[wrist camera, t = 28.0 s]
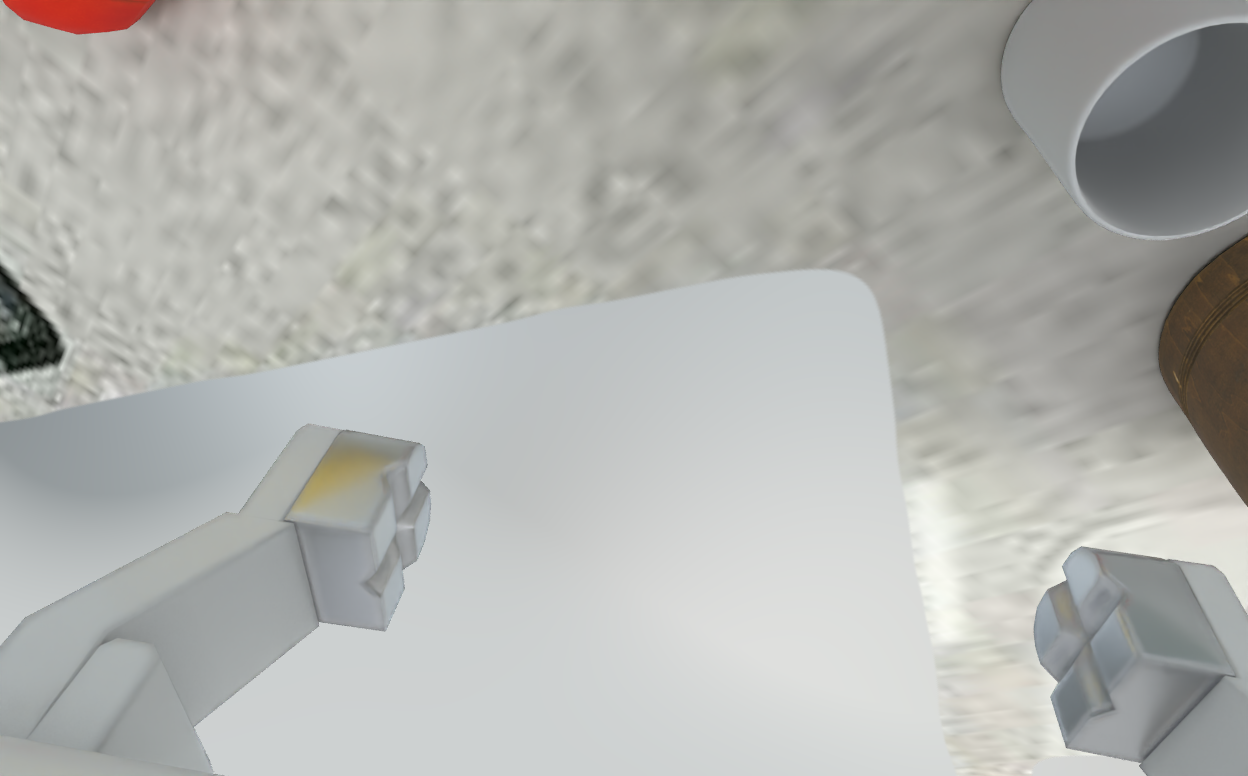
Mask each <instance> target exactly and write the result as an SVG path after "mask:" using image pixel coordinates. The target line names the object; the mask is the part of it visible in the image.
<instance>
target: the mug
mask: <svg viewBox="0 0 1248 776" xmlns="http://www.w3.org/2000/svg"><path fill="white" fill-rule="evenodd" d="M1001 84H1002V91H1003V95H1004V99H1005V101H1006V104H1007V106H1008V109H1009V111H1010V112H1011V114H1012V116H1013V117H1014V119H1015V120H1016V122H1017V123H1018V124H1019V126H1020V127H1021V128H1022V129H1023V130H1024V132H1025V133H1026V134H1027V135H1028V137H1029V138H1030V139H1031V141H1032V142H1033V144H1034V145H1035V146H1036V148H1037V149H1038V151H1039V152H1040V154H1041V155H1042V156H1043V158H1044V159H1045V161H1046V162H1047V163H1048V165H1049V166H1050V168H1051V169H1052V171H1053V172H1054V173H1055V175H1056V176H1057V178H1058V179H1059V180H1060V182H1061V183H1062V185H1063V186H1064V188H1065V189H1066V190H1067V192H1068V193H1069V195H1070V196H1071V197H1072V199H1073V200H1074V202H1075V203H1076V204H1077V205H1078V206H1079V208H1080V209H1081V210H1082V211H1083V212H1084V213H1085V214H1086V215H1087V216H1088V217H1089V218H1090V219H1092V220H1093V221H1094V222H1095V223H1097V224H1098V225H1100V226H1102V227H1103V228H1105V229H1107V230H1109V231H1112V232H1114V233H1117V234H1119V235H1122V236H1126V237H1131V238H1135V239H1143V240H1170V239H1179V238H1184V237H1189V236H1194V235H1198V234H1201V233H1204V232H1208V231H1211V230H1214V229H1216V228H1219V227H1221V226H1223V225H1226V224H1228V223H1230V222H1232V221H1234V220H1236V219H1238V218H1240V217H1242V216H1244V215H1245V214H1247V213H1248V1H1247V0H1032V1H1031V3H1030V4H1029V5H1028V6H1027V8H1026V9H1025V10H1024V12H1023V13H1022V14H1021V16H1020V17H1019V19H1018V21H1017V22H1016V24H1015V26H1014V28H1013V30H1012V32H1011V34H1010V36H1009V38H1008V41H1007V44H1006V47H1005V50H1004V55H1003V60H1002V68H1001Z"/></svg>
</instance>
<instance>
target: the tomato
mask: <svg viewBox="0 0 1248 776" xmlns="http://www.w3.org/2000/svg"><path fill="white" fill-rule="evenodd" d="M3 2H4V3H5V5H6V6H8V7H9V8H10V9H11V10H12V11H14V12H15V13H16V14H17V15H18V16H20V17H21V18H22V19H23V20H26V21H30V22H33V23H37V24H40V25H44V26H48V27H51V28H55V29H58V30H62V31H66V32H70V33H74V34H88V33H100V32H110V31H117V30H124V29H127V28H129V27H130V26H131V25H133V24H134V23H135V22H137V21H138V20H139V19H140V18H141V17H142V16H143V15H144V13H145V12H146V11H147V10H148V9H149V7H150V6H151V5H152V4H153V3H154V2H155V0H3Z"/></svg>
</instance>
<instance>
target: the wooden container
mask: <svg viewBox="0 0 1248 776" xmlns="http://www.w3.org/2000/svg"><path fill="white" fill-rule="evenodd" d="M1159 365H1160V370H1161V373H1162V376H1163V379H1164V381H1165V383H1166V385H1167V387H1168V389H1169V391H1170V393H1171V394H1172V396H1173V397H1174V399H1175V400H1176V402H1177V403H1178V405H1179V406H1180V408H1181V409H1182V411H1183V412H1184V414H1185V415H1186V417H1187V418H1188V420H1189V421H1190V423H1191V424H1192V426H1193V428H1194V429H1195V431H1196V433H1197V434H1198V436H1199V438H1200V439H1201V441H1202V442H1203V444H1204V445H1205V447H1206V448H1207V450H1208V451H1209V453H1210V455H1211V456H1212V457H1213V459H1214V460H1215V462H1216V463H1217V465H1218V466H1219V468H1220V469H1221V471H1222V472H1223V473H1224V475H1225V476H1226V478H1227V479H1228V480H1229V482H1230V483H1231V485H1232V486H1233V488H1234V489H1235V490H1236V492H1237V493H1238V495H1239V496H1240V497H1241V499H1242V500H1243V501H1244V503H1245V504H1246V505H1247V507H1248V236H1247V237H1246V238H1244V239H1243V240H1241V241H1240V242H1238V243H1236V244H1235V245H1234V246H1232V247H1231V248H1229V249H1228V250H1227V251H1225V252H1224V253H1222V254H1221V255H1219V256H1218V257H1217V258H1216V259H1215V260H1214V261H1213V262H1211V263H1210V264H1209V265H1208V266H1206V267H1205V268H1204V269H1203V270H1202V271H1201V272H1200V273H1199V274H1198V275H1197V276H1196V277H1195V278H1194V279H1193V280H1192V281H1191V282H1190V284H1189V285H1188V286H1187V287H1186V288H1185V290H1184V291H1183V293H1182V294H1181V296H1180V297H1179V298H1178V300H1177V301H1176V303H1175V305H1174V306H1173V308H1172V309H1171V312H1170V314H1169V316H1168V318H1167V320H1166V322H1165V325H1164V329H1163V332H1162V335H1161V341H1160V346H1159Z"/></svg>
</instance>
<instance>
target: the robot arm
mask: <svg viewBox="0 0 1248 776" xmlns="http://www.w3.org/2000/svg"><path fill="white" fill-rule="evenodd" d="M426 468H427V459H426V452H425V447H424V446H423V445H422V444H420V443H416V442H411V441H405V440H399V439H394V438H388V437H383V436H378V435H372V434H366V433H361V432H356V431H350V430H340V429H335V428H329V427H324V426H319V425H313V424H307V425H305V426H303V427H302V428H300V429H299V430H297V431H296V433H295V434H294V436H293V437H292V439H291V440H290V441H289V443H288V444H287V445H286V447H285V448H284V450H283V451H282V453H281V454H280V455H279V457H278V458H277V460H276V461H275V462H274V464H273V465H272V467H271V468H270V470H269V471H268V472H267V474H266V475H265V477H264V478H263V479H262V481H261V482H260V484H259V485H258V486H257V488H256V489H255V491H254V492H253V494H252V495H251V496H250V498H249V499H248V501H247V502H246V504H245V505H244V506H243V508H242V509H241V510H240V512H239V513H238V514H235V513H229V512H226V513H224V514H222V515H220V516H218V517H217V518H215V519H213V520H211V521H209V522H207V523H205V524H203V525H201V526H199V527H197V528H195V529H194V530H192V531H190V532H188V533H186V534H184V535H182V536H180V537H178V538H176V539H174V540H172V541H171V542H169V543H167V544H165V545H163V546H161V547H159V548H157V549H155V550H154V551H151V552H150V553H148V554H146V555H144V556H142V557H140V558H138V559H136V560H134V561H132V562H130V563H129V564H127V565H125V566H123V567H121V568H119V569H117V570H115V571H113V572H111V573H109V574H107V575H106V576H104V577H102V578H100V579H98V580H96V581H94V582H92V583H90V584H88V585H86V586H85V587H83V588H81V589H79V590H77V591H75V592H73V593H71V594H69V595H67V596H65V597H64V598H62V599H60V600H58V601H56V602H54V603H52V604H50V605H48V606H46V607H44V608H42V609H41V610H39V611H37V612H35V613H33V614H31V615H29V616H27V617H25V618H24V619H23V621H22V622H21V623H20V624H19V625H18V626H17V627H16V629H15V630H14V631H13V632H12V633H11V635H9V637H8V638H7V639H6V640H5V641H4V642H3V643H2V645H1V646H0V776H223V775H217V774H213V769H212V766H211V763H210V760H209V758H208V756H207V754H206V752H205V750H204V747H203V745H202V743H201V741H200V739H199V737H198V735H197V733H196V731H195V729H194V726H196V725H197V724H198V723H199V722H201V721H202V720H203V719H204V718H206V717H207V716H208V715H209V714H210V713H212V712H213V711H214V710H215V709H217V708H218V707H219V706H220V705H222V704H223V703H224V702H225V701H227V700H228V699H229V698H230V697H232V696H233V695H234V694H235V693H236V692H238V691H239V690H240V689H241V688H243V687H244V686H245V685H246V684H248V683H249V682H250V681H251V680H253V679H254V678H255V677H256V676H258V675H259V674H260V673H261V672H263V671H264V670H265V669H266V668H268V667H269V666H270V665H271V664H273V663H274V662H275V661H276V660H277V659H279V658H280V657H281V656H282V655H284V654H285V653H286V652H287V651H289V650H290V649H291V648H292V647H294V646H295V645H296V644H297V643H299V642H300V641H301V640H302V639H304V638H305V637H306V636H307V635H308V634H310V633H311V632H312V631H314V630H315V629H316V628H317V627H318V626H319V622H323V623H330V624H337V625H344V626H351V627H358V628H365V629H372V630H379V631H386V630H387V627H388V625H389V623H390V621H391V618H392V616H393V614H394V612H395V609H396V607H397V605H398V602H399V600H400V598H401V596H402V593H403V591H404V589H405V587H404V578H403V569H405V568H406V567H408V566H409V565H411V564H413V563H414V562H416V561H417V559H418V557H419V554H420V552H421V549H422V547H423V545H424V542H425V538H426V534H427V530H428V526H429V522H430V510H431V499H430V490H429V489H428V488H427V487H426V486H425V485H424V484H423V482H422V481H421V478H422V476H423V474H424V472H425V470H426ZM1062 567H1063V570H1064V573H1065V576H1066V578H1067V580H1066V581H1064V582H1062V583H1060V584H1058V585H1056V586H1054V587H1052V588H1049V589H1047V591H1046V593H1045V594H1044V596H1043V598H1042V600H1041V601H1040V603H1039V605H1038V607H1037V611H1036V617H1035V623H1034V638H1035V647H1036V650H1037V654H1038V657H1039V661H1040V664H1041V665H1042V666H1043V667H1044V668H1045V669H1046V670H1047V671H1048V672H1049V673H1050V674H1051V675H1052V676H1053V677H1054V678H1055V680H1056V681H1057V682H1058V684H1057V686H1056V688H1055V689H1054V691H1053V693H1052V695H1051V701H1052V704H1053V707H1054V710H1055V713H1056V717H1057V720H1058V723H1059V726H1060V729H1061V733H1062V736H1063V739H1064V742H1065V745H1066V748H1068V749H1073V750H1078V751H1083V752H1088V753H1093V754H1099V755H1104V756H1109V757H1114V758H1119V759H1124V760H1129V761H1135V762H1139V763H1141V764H1140V765H1139V767H1140V768H1141V769H1142V770H1143V772H1144V773H1145V774H1146V775H1147V776H1248V615H1247V613H1246V612H1245V610H1244V608H1243V606H1242V605H1241V603H1240V601H1239V599H1238V598H1237V596H1236V594H1235V592H1234V591H1233V589H1232V587H1231V585H1230V584H1229V582H1228V580H1227V578H1226V577H1225V575H1224V574H1223V573H1222V572H1221V571H1219V570H1218V569H1217V568H1216V567H1214V566H1212V565H1205V564H1198V563H1191V562H1185V561H1178V560H1171V559H1168V560H1165V559H1162V558H1156V557H1150V556H1143V555H1136V554H1129V553H1122V552H1116V551H1109V550H1102V549H1095V548H1089V547H1080V548H1078V549H1077V550H1075V551H1073V552H1072V553H1071V554H1070V555H1069V557H1068V558H1067V560H1066V561H1065V563H1064V564H1063V566H1062Z"/></svg>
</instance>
